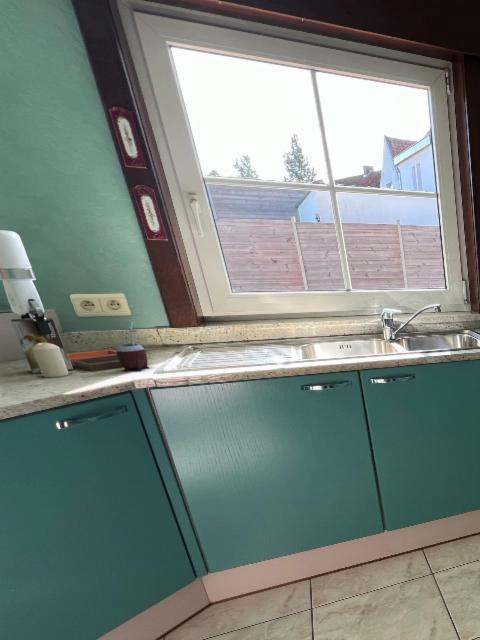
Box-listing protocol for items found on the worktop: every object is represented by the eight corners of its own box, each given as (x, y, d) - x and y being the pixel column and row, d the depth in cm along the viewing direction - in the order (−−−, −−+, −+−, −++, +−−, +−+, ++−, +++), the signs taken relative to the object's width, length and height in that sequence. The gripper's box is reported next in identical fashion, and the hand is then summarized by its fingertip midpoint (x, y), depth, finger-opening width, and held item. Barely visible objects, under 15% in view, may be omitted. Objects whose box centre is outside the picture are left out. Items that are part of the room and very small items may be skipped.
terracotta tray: (72, 365, 164) (70, 359, 163) (59, 361, 169) (56, 355, 168) (126, 358, 176) (124, 353, 175) (112, 355, 181) (110, 349, 180)
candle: (71, 375, 152) (59, 342, 149) (46, 378, 148) (33, 345, 144) (65, 372, 155) (53, 340, 151) (40, 375, 151) (27, 343, 147)
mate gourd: (126, 372, 157) (111, 325, 152) (118, 369, 161) (102, 322, 156) (155, 369, 163) (141, 323, 158) (146, 365, 167) (132, 320, 162)
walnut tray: (91, 371, 158) (89, 364, 157) (74, 366, 163) (72, 359, 163) (146, 364, 169) (144, 358, 169) (128, 359, 175) (126, 353, 174)
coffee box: (72, 366, 163) (53, 317, 157) (73, 369, 159) (54, 319, 153) (31, 370, 156) (10, 318, 150) (31, 373, 152) (10, 321, 146)
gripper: (-13, 274, 148) (11, 331, 154) (7, 276, 140) (31, 337, 146) (23, 273, 154) (44, 329, 160) (44, 276, 146) (66, 334, 153)
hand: (38, 332), depth 153 cm, fingers open, 9 cm apart
